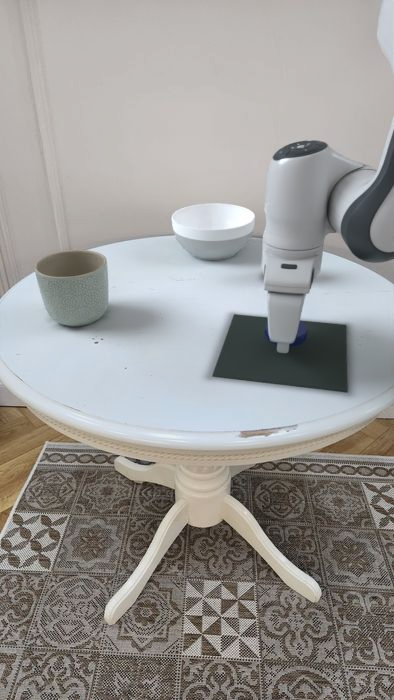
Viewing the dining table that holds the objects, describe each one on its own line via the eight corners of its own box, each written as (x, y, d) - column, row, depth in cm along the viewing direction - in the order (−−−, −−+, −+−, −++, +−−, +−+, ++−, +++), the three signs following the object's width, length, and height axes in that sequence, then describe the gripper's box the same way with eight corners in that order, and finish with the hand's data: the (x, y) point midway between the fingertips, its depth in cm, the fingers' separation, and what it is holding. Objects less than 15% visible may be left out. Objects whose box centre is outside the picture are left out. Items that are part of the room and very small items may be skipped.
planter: (30, 322, 97) (19, 267, 91) (79, 296, 106) (72, 244, 100) (78, 341, 91) (69, 283, 85) (126, 312, 100) (121, 258, 94)
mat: (345, 327, 94) (346, 324, 94) (346, 393, 77) (347, 391, 77) (234, 316, 98) (234, 314, 98) (212, 377, 81) (212, 375, 81)
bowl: (172, 269, 117) (170, 231, 112) (173, 238, 132) (172, 203, 128) (258, 267, 117) (259, 229, 112) (249, 237, 133) (250, 202, 128)
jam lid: (262, 344, 84) (262, 334, 83) (268, 323, 90) (268, 314, 89) (304, 349, 83) (305, 339, 82) (308, 328, 88) (309, 319, 87)
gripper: (277, 233, 88) (272, 307, 95) (262, 285, 71) (257, 370, 79) (316, 235, 87) (308, 310, 94) (309, 288, 70) (300, 375, 77)
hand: (285, 338), depth 86 cm, fingers closed on jam lid, 6 cm apart
